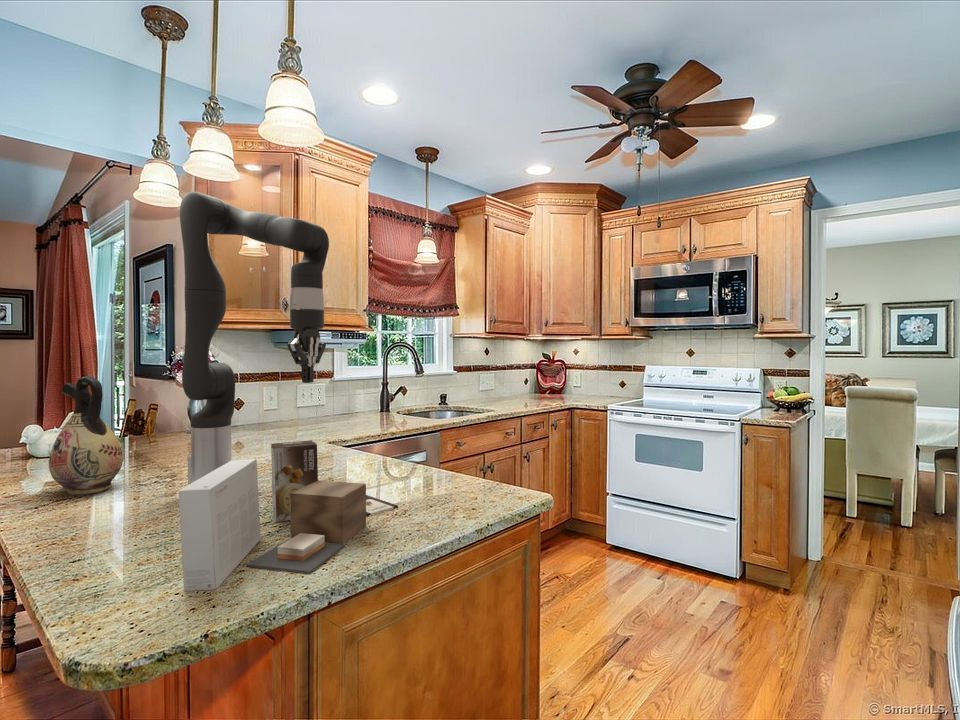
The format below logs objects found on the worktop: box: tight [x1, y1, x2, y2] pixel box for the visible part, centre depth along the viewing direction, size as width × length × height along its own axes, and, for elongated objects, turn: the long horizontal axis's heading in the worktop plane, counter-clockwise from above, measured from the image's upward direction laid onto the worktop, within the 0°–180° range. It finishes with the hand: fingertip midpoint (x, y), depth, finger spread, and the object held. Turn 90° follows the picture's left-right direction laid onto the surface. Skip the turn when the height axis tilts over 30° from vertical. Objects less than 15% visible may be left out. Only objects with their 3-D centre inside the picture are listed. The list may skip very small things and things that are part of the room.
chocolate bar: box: [366, 494, 399, 517], centre depth 124 cm, size 9×1×18 cm
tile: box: [277, 533, 325, 561], centre depth 94 cm, size 5×7×2 cm
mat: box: [245, 538, 346, 575], centre depth 93 cm, size 12×12×1 cm
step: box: [290, 480, 367, 545], centre depth 105 cm, size 11×10×9 cm
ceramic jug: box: [48, 375, 124, 496], centre depth 135 cm, size 17×15×30 cm
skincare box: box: [178, 458, 262, 592], centre depth 90 cm, size 21×5×16 cm, turn 5°
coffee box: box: [270, 440, 319, 523], centre depth 116 cm, size 9×6×16 cm
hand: (307, 382), depth 122 cm, fingers closed
